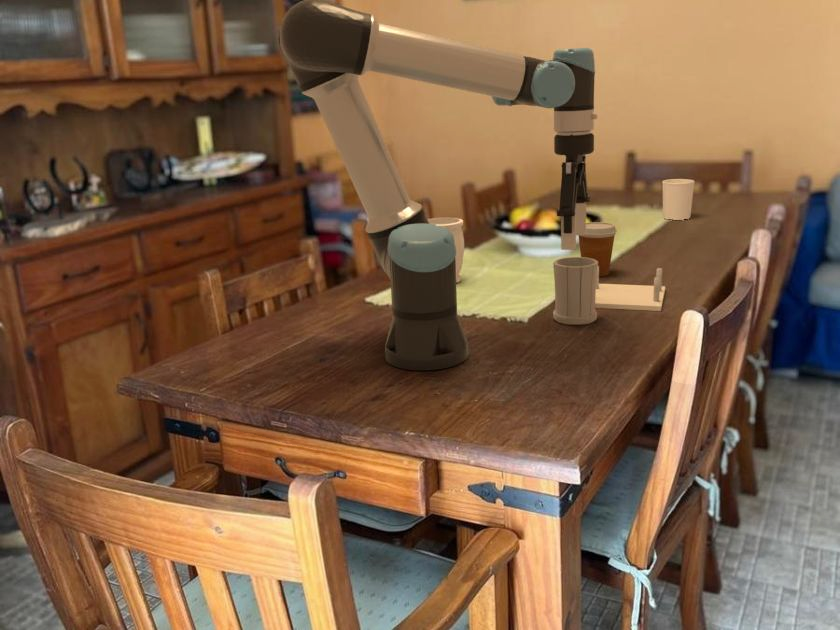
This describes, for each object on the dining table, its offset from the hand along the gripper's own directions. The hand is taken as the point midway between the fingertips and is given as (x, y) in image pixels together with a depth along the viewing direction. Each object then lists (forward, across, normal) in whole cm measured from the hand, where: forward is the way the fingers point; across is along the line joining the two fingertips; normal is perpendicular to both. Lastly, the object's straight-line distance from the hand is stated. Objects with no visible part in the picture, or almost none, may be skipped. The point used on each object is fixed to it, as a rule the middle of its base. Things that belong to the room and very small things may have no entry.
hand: (574, 241), depth 161 cm
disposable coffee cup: (+16, +37, 0) cm, 40 cm away
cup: (+16, 0, 0) cm, 16 cm away
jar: (+16, +24, +35) cm, 46 cm away
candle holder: (+17, +112, -16) cm, 114 cm away
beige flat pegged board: (+16, +16, -9) cm, 24 cm away
